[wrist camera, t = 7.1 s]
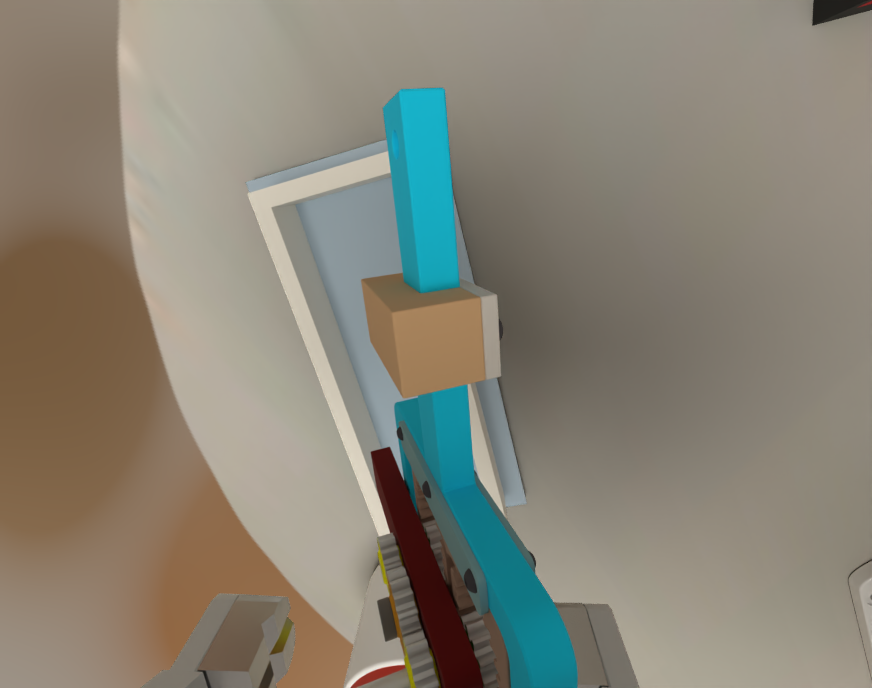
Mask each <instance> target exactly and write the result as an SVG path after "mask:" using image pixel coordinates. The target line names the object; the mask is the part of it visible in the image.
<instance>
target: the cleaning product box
mask: <svg viewBox="0 0 872 688" xmlns="http://www.w3.org/2000/svg"><path fill="white" fill-rule="evenodd" d="M870 10H872V0H814V3H813V24H812V26H813V25H817V24H820V23H824V22H828V21H832V20H835V19H839V18H843V17H847V16H851V15H854V14H858V13H862V12H866V11H870Z"/></svg>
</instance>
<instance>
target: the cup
mask: <svg viewBox="0 0 872 688" xmlns="http://www.w3.org/2000/svg"><path fill="white" fill-rule="evenodd" d="M386 597H389V593H388V589H387V584H384V581H383V577H382V573H381V569H380V565H379V566H378V567H377V568H376V570H375V571H374V573H373V574H372V577H371V579H370V581H369V585H368V589H367V593H366V597H365V601H364V605H363V609H362V613H361V617H360V621H359V625H358V630H357V634H356V638H355V642H354V646H353V650H352V654H351V658H350V663H349V667H348V671H347V675H346V679H345V683H344V687H343V688H356V687H359V686H362V685H364V684H367V683H369V682H372V681H374V680H377V679H379V678H382V677H384V676H387V675H390V674H392V673H395V672H397V671H400V670H402V669H405V663H404V654H403V649H402V647H401V642H400V638H398V637H397V638H395V639H393V640H390V641H387V642H385V639H384V634H383V629H382V625H381V620H380V615H379V610H378V605H377V600H380V599H383V598H386Z"/></svg>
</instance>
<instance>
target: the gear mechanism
mask: <svg viewBox="0 0 872 688" xmlns="http://www.w3.org/2000/svg"><path fill="white" fill-rule="evenodd" d="M383 113H384V121H385V130H386V138H387V146H388V155H389V163H390V171H391V179H392V188H393V196H394V204H395V212H396V221H397V229H398V237H399V246H400V254H401V262H402V270H403V273H397V274H391V275H384V276H378V277H371V278H364V279H361V284H362V291H363V297H364V304H365V310H366V317H367V323H368V329H369V336H370V342H371V344H372V345H373V347H374V349H375V351H376V352H377V354H378V356H379V358H380V359H381V361H382V363H383V364H384V366H385V368H386V370H387V371H388V373H389V375H390V377H391V378H392V380H393V382H394V384H395V385H396V387H397V389H398V391H399V392H400V394H401V396H402V398H404V399H405V398H410V397H414V396H418V398H413V399H409V400H404V401H400V402H396V403H395V405H394V413H395V420H396V427H397V431H396V432H397V437H398V441H399V448H400V455H401V462H402V469H403V476H404V480H403V477H402V475H401V472H400V470H399V468H398V465H397V463H396V460H395V458H394V455H393V453H392V450H391V448H390V447H386V448H382V449H379V450H375V451H371V458H372V464H373V470H374V476H375V482H376V488H377V492H378V495H379V498H380V502H381V505H382V508H383V511H384V515H385V518H386V521H387V525H388V528H389V531H390V533H389V534H386V535H383V536H380V537H377V542H378V547H379V551H378V559H379V564H380V569H381V573H382V577H383V581H384V584H387V589H388V593H389V597H386V598H383V599H380V600H377V605H378V610H379V615H380V620H381V625H382V629H383V634H384V639H385V642H387V641H390V640H393V639H395V638H397V637H398V638H400V642H401V647H402V649H403V654H404V663H405V669H402V670H400V671H397V672H395V673H392V674H390V675H387V676H384V677H382V678H379V679H377V680H374V681H372V682H369V683H367V684H364V685H362V686H359V687H356V688H577V687H578V671H577V662H576V658H575V653H574V649H573V646H572V643H571V640H570V637H569V634H568V632H567V629H566V627H565V624H564V622H563V620H562V618H561V616H560V613H559V611H558V609H557V608H556V606H555V604H554V603H553V601H552V599H551V597H550V596H549V594H548V593H547V591H546V590H545V588H544V587H543V585H542V584H541V582H540V581H539V579H538V578H537V576H536V575H535V567H536V561H535V558H534V556H533V554H532V553H531V552H529V551H528V550H527V549H526V547H525V546H524V544H523V543H522V541H521V540H520V538H519V537H518V535H517V534H516V532H515V531H514V530H513V528H512V527H511V525H510V524H509V522H508V521H507V519H506V518H505V516H504V515H503V513H502V512H501V510H500V509H499V508H498V506H497V505H496V503H495V502H494V500H493V499H492V497H491V496H490V494H489V493H488V491H487V490H486V488H485V487H484V486H483V484H482V483H481V481H480V480H479V478H478V476H477V473H476V471H475V470H474V463H473V450H472V437H471V424H470V410H469V397H468V384H471V383H475V382H480V381H484V380H485V379H486V380H488V379H493V378H497V377H500V376H501V361H500V340H501V338H502V335H503V327H502V323H501V321H500V319H499V318H498V298H497V294H495V293H492V292H490V291H488V290H486V289H484V288H481V287H479V286H477V285H475V284H472V283H470V282H468V281H466V280H464V279H461V278H459V267H458V254H457V241H456V228H455V214H454V201H453V188H452V175H451V162H450V149H449V136H448V123H447V110H446V97H445V90H444V89H443V88H422V89H401V90H400V91H399V92H398V93H397V94H396V95H395V96H394V97H393V98H392V99H391V100H390V101H389V102H388V103H387V104H386V105H385V106H384V107H383Z"/></svg>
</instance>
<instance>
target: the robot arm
mask: <svg viewBox="0 0 872 688" xmlns="http://www.w3.org/2000/svg"><path fill="white" fill-rule="evenodd" d="M849 587H850V591H851V595H852V599H853V603H854V607H855V612H856V616H857V620H858V624H859V628H860V632H861V636H862V641H863V645H864V649H865V653H866V657H867V661H868V665H869V670H870V674H871V678H872V561H870V562H868V563H867V564H865V565H863V566H862V567H860V568H858V569H857V570H856V571H854V572H853V573H852V574H851V576H850V577H849ZM554 604H555V606H556V608H557V609H558V611H559V613H560V616H561V618H562V620H563V622H564V624H565V627H566V629H567V632H568V634H569V637H570V640H571V643H572V646H573V649H574V653H575V658H576V662H577V671H578V687H577V688H639V685H638V682H637V679H636V676H635V674H634V671H633V668H632V665H631V662H630V660H629V657H628V654H627V651H626V648H625V646H624V643H623V640H622V637H621V634H620V632H619V629H618V626H617V623H616V620H615V618H614V615H613V612H612V609H611V608H610V607H609V605H608V604H582V603H554ZM289 611H290V604H289V600H288V597H278V596H277V597H276V596H259V595H243V594H218V595H217V596H216V597H215V598H214V599H213V600H212V601H211V603H210V605H209V606H208V608H207V609H206V611H205V613H204V614H203V616H202V618H201V619H200V621H199V622H198V624H197V626H196V628H195V629H194V631H193V632H192V634H191V636H190V638H189V639H188V641H187V642H186V644H185V646H184V647H183V649H182V651H181V652H180V654H179V656H178V657H177V659H176V661H175V662H174V664H173V666H172V667H171V669H170V670H162V671H161V672H160V673H159V674H157V675H156V676H155V677H153V678H152V679H151V680H150V681H149V682H147V683H146V684H145V685H143V686H142V687H141V688H277V687H276V683H277V682H278V681H279V680H280V679H281V678H282V677H283V676H284V675H285V674H286V673H287V672H288V669H289V666H290V663H291V660H292V656H293V650H294V645H295V628H294V623H293V622H292V621H291V620H290V619H289V618H288V617H287V616H288V613H289Z"/></svg>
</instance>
